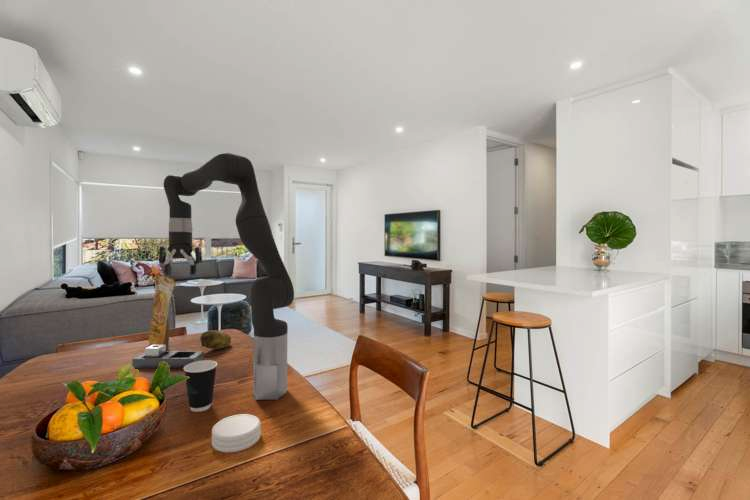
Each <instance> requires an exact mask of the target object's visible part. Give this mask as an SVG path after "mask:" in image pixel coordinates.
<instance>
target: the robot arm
mask: <svg viewBox="0 0 750 500" xmlns="http://www.w3.org/2000/svg"><path fill="white" fill-rule="evenodd" d="M255 172H256V171H255V169H254V165H253V163H252V161H251V160H250V159H249V158H248V157H245V156H243V155H239V154H234V153H231V152H220V153H218V154H216V155H214V156H213V157H211V158H210V160H208V161H206V162H205V163H203V165H201V166H200V167H198V168H196V169H193V170H192V169H191V170H190V171H187V172H185V173H184V174H183V175H179V174H177V175H176V174H168V175H166V177H165V178H164V180H163V190H164V192H165V193H164V194H165V196H166V199H167V203H168V207H169V211H168V213H169V218H168V219H169V221H168V246H164V245H163V246H159V251H158V263H159V264H163V265H164V274H166V276H170V275H172V264H171V263H172V262H174V260H176V259H180V260H181V259H183V260H184V259H185V260H186V261H188V262H189V264H190V266H189V270H190V271H189V272H190V274H189V276H195V274H197V265H199V264H201V263H202V262H203V257H202V256H203V255H202V247H201V246H196V247H193V222H192V205H191V204H190V203H189V202H186V201H183V200H182V199H181V198H180V196H181V197H182V196H183V197H193V196H196V194H197V193H198V192H200V191H203V190H206V189H208V188H209V187H210V186H212V184H213V182H222V183H226V184H231V185H236V186H237V187H238V189H239V192H240V195H241V202H240V205H239V206H238V210H237V213H236V216H235V226H236V229H237V232H238V237H239V239H240V241H241V243H242V245H243V246H244V247H245V249H246V250H247V251H249V253H250V254H251V255H252V256H254V258H256V260H258V262H259V263H260V264H261V265H262V267H263V268H264V270H265V273H266V275H267V276H265V277H258V278H256V279H255V280H254V281H253V282H252V285H251V288H250V312H251V313H250V315H251V318H250V319H251V324H252V327H253V396H254V399H255V400H256V401H257V400H260V401H261V400H262V401H263V400H266V401H268V400H271V401H272V400H279V398H280V397H283V396H284V395H286V394H287V392H288V329H289V328H288V326H289V325H288V323H287V322H286V321H285V320H282V319H277V318H275V315H274V314H275V313H274V310H276V309H281V308H286V307H288V306H289V307H290V305H292V303H293V301H294V298H295V289H294V285H293V282H292V280H291V279H292V278H291V276H290V275H289V273H288V271H287V268H286V267H285V264H284V262H283V260H282V257H281V255H280V252H279V248H278V246H277V244H276V241H275V238H274V235H273V231H272V228H271V226H270V222H269V218H268V216H267V214H266V211H265V208H264V205H263V202H262V199H261V195H260V191H259V190H260V189H259V187H258V182H257V177H256V174H255ZM168 252H169V255H168V256H167V253H168ZM192 253H194V254H195V255H194V256H195V257H194V256H193V254H192Z"/></svg>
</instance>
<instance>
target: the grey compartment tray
mask: <svg viewBox="0 0 750 500" xmlns="http://www.w3.org/2000/svg"><path fill="white" fill-rule="evenodd" d="M203 359H204V360H205V351H204V350H166V355H165V356H163V357H161V358H145V351H144V352H143V353H140V354H139V355H137V356H135V357H133V358H132V359H131V361H132V362H131V365H132V366H133V367H134V368H133V369H158V368H157V367H158V365H159V363H160V362H161V361H165V362H167V363H168V365H170V368H169V369H183V368H184V367H185V366H186V365H187V364H190V363H193V362H197V361H202V360H203ZM204 360H203V361H204ZM137 367H138V368H137Z"/></svg>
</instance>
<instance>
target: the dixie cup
mask: <svg viewBox="0 0 750 500" xmlns="http://www.w3.org/2000/svg"><path fill="white" fill-rule="evenodd" d="M217 366H218V362H216V361H215V360H209V359H207V360H205V359H204V360H203V361H197V362H193V363H190V364H187V365H186V366H185V367H184V368H182V369H183V371H184V376H189V377H190V378H189V379H187V380H186V379H185V384H186V391H187V400H188V406H189V407H190V411H191V412H204V411H207V410H208V409H210V408H211V407H212V403H213V399H214V390H215V389H214V388H215V381H216V374H217ZM210 406H211V407H210Z"/></svg>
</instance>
